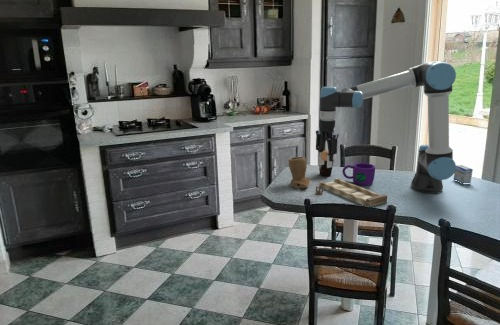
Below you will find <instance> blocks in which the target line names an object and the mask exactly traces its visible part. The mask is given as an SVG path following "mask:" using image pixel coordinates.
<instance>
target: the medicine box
mask: <svg viewBox="0 0 500 325" xmlns="http://www.w3.org/2000/svg"><path fill="white" fill-rule="evenodd" d="M473 171H474V170H473V169H472V168H470V167H468V166H465V165H461V164H459V165H457V164H456V171H455V173H454V174H453V179H454V180H457V181H459V182H461V183H470V184H471V182H472V176H473ZM454 180H453V181H454ZM461 183H460V184H461Z"/></svg>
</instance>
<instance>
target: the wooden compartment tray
mask: <svg viewBox="0 0 500 325" xmlns="http://www.w3.org/2000/svg"><path fill="white" fill-rule="evenodd" d="M318 184H319V185H318V187H319V186H320V188H322V187H323V190H327V191H329V192H331V193H334V194H335V195H339V196H341V197H343V198H346V199H347V200H351V201H353V202H355V203H357V204H359V205H362V206H364V205H366V206H373V207H376V206H379V205H383V204H386V203H387V202H388V195H387V194H385V193H383V194H380V193H376V192H374V191H372V190H369V189H366V188H364V187H362V186H360V185H357V184H355V183H350V182H348V181H345V180H342V179H340V178H337V177H334V180H333V181H330V182H324V181H323V180H322V181H319V182H318ZM366 206H365V207H366Z"/></svg>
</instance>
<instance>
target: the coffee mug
mask: <svg viewBox="0 0 500 325" xmlns="http://www.w3.org/2000/svg"><path fill="white" fill-rule="evenodd" d="M334 159H335V158H334V157H333V161H332V167H330V168H327V161H324V165H319V164H318V167H319V169H318V170H319V176H320V177H324V178H329V177H331V176H332V172H333V171H332V170H333V166H334V161H335V160H334Z"/></svg>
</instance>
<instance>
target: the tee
mask: <svg viewBox="0 0 500 325" xmlns="http://www.w3.org/2000/svg"><path fill="white" fill-rule="evenodd" d="M323 193H324V188H323V187H320V186H319V185H316V186H315V194H316V195H319V196H320V195H323Z"/></svg>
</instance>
